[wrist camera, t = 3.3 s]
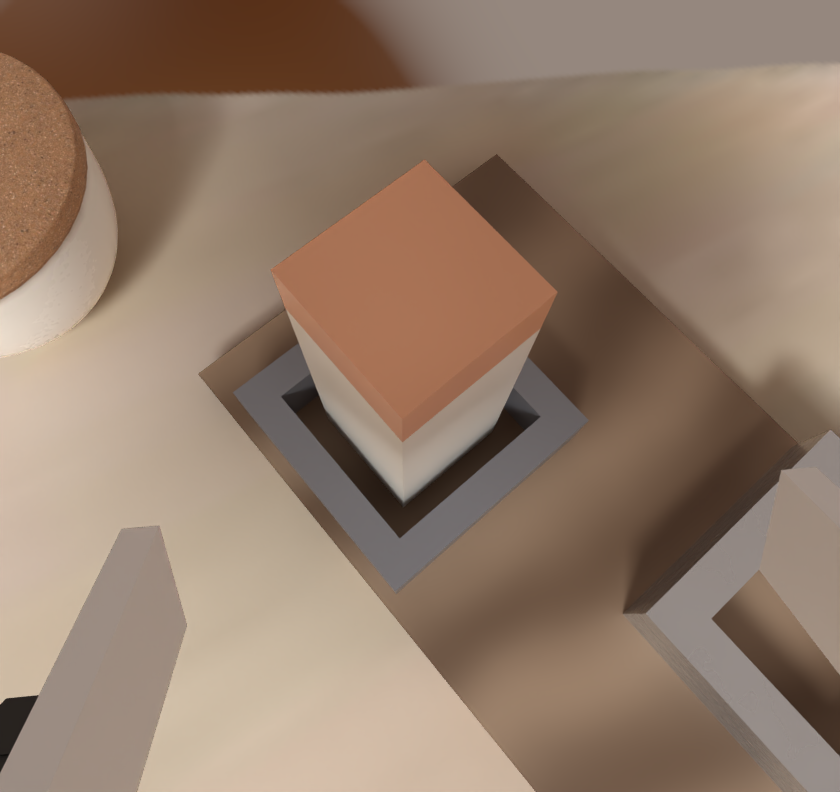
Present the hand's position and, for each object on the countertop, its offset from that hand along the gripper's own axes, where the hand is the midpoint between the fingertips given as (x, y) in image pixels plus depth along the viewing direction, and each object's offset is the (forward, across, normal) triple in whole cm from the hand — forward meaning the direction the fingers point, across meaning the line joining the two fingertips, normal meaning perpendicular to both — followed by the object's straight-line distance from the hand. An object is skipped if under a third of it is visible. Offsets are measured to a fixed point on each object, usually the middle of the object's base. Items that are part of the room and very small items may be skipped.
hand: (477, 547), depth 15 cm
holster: (+12, -1, -3) cm, 12 cm away
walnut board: (+9, +6, -8) cm, 14 cm away
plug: (+12, -1, -3) cm, 12 cm away
